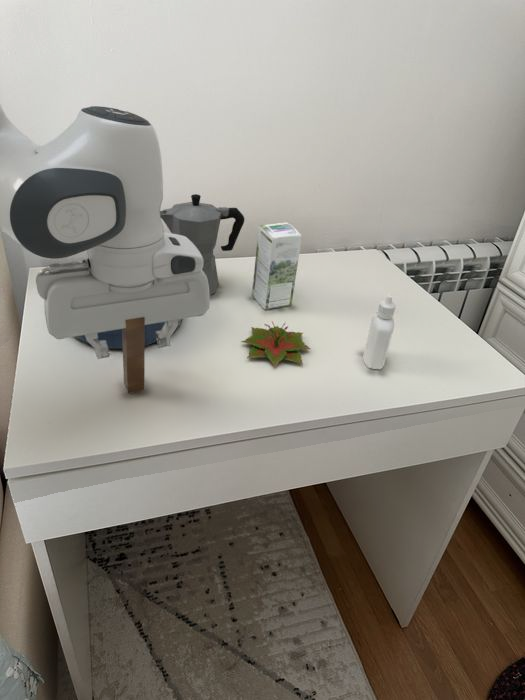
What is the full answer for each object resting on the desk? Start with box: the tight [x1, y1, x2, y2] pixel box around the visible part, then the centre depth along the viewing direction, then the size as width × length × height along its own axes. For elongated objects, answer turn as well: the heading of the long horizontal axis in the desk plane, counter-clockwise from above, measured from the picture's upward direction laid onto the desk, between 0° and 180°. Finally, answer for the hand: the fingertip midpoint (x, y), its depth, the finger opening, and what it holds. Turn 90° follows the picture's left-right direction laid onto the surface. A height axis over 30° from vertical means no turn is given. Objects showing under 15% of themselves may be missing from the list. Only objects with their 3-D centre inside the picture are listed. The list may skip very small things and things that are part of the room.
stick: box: [122, 317, 146, 395], centre depth 72 cm, size 2×2×14 cm
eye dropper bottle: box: [362, 294, 396, 370], centre depth 84 cm, size 4×6×12 cm
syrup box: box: [251, 221, 303, 311], centre depth 96 cm, size 6×6×14 cm
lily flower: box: [240, 320, 311, 368], centre depth 86 cm, size 12×12×5 cm
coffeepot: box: [160, 193, 245, 296], centre depth 97 cm, size 15×9×18 cm, turn 103°
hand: (133, 350), depth 71 cm, fingers open, 7 cm apart
